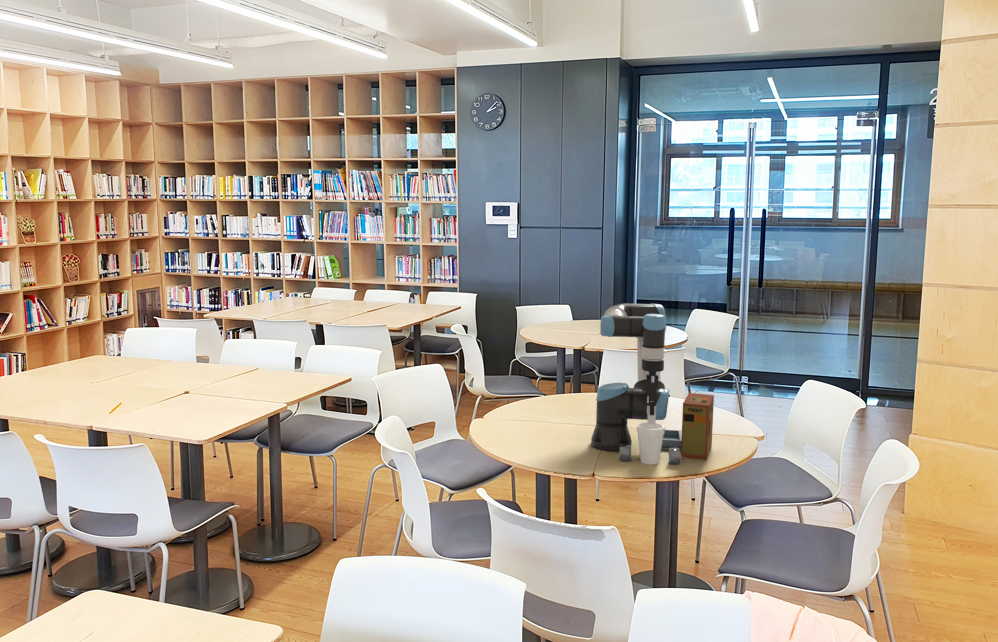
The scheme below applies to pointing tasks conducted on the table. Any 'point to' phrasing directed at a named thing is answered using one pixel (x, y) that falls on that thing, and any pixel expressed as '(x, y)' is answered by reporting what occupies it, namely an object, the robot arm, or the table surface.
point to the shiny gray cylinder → (674, 456)
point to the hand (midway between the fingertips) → (651, 418)
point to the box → (697, 426)
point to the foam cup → (650, 442)
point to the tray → (671, 439)
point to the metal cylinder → (625, 453)
